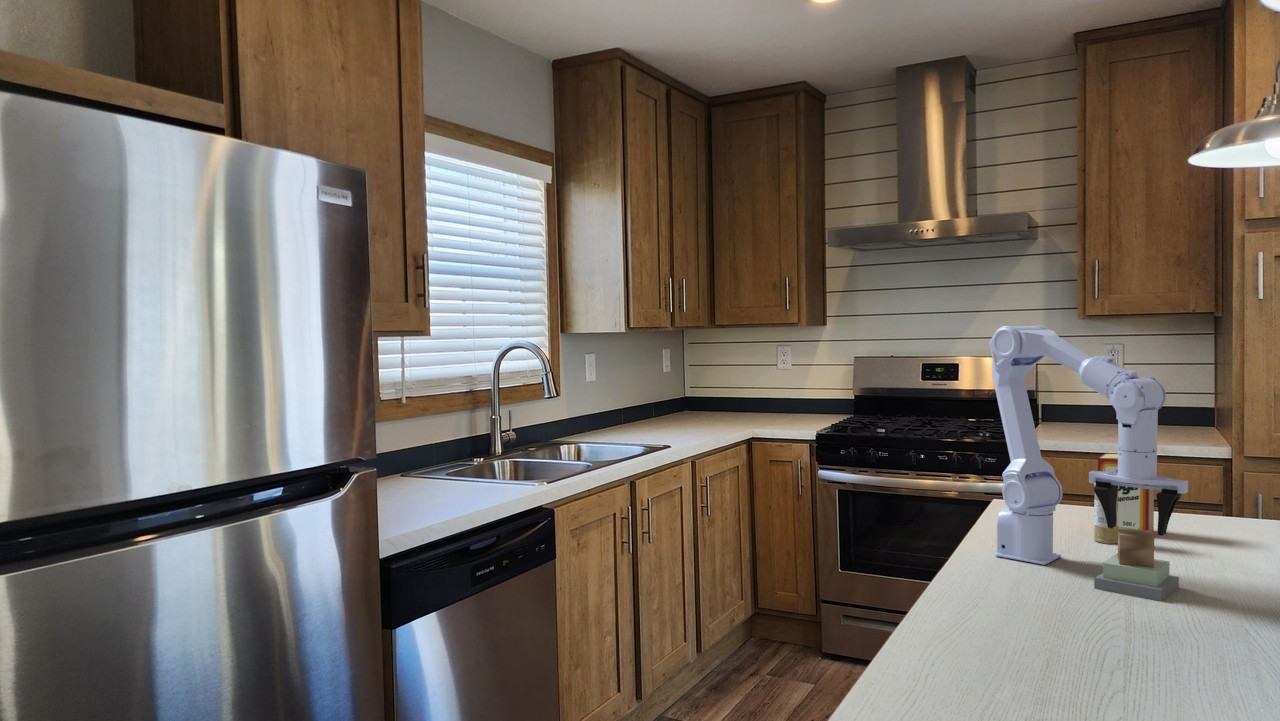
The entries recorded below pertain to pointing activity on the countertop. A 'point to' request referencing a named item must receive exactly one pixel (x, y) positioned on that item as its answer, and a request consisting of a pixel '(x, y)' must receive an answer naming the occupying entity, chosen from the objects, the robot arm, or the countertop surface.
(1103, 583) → the tower base
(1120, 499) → the baking soda box
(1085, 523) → the countertop surface
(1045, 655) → the countertop surface
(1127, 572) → the tower top
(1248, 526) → the countertop surface
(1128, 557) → the walnut block
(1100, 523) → the sprinkles bottle
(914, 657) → the countertop surface
